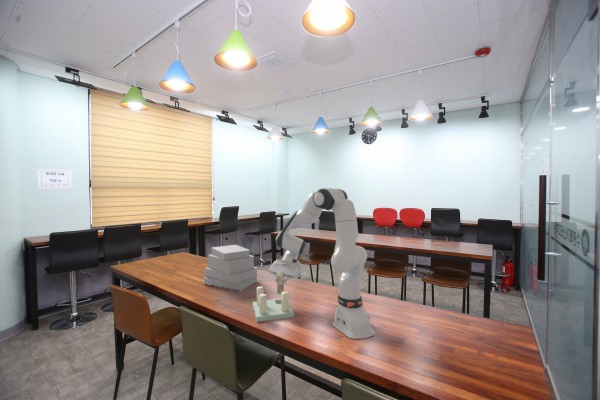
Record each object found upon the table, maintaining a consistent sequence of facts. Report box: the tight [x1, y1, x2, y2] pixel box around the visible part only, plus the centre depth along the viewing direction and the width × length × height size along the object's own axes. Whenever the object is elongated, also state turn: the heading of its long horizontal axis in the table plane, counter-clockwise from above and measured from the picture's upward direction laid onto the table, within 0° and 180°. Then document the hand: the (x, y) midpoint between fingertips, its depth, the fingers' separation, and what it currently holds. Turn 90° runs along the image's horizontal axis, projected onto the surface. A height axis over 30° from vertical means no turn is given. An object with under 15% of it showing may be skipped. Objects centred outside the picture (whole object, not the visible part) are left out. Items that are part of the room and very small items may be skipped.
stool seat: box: [252, 286, 295, 323], centre depth 150 cm, size 20×20×12 cm
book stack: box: [203, 244, 259, 292], centre depth 197 cm, size 30×35×26 cm
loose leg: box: [276, 272, 285, 295], centre depth 157 cm, size 4×4×12 cm
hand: (279, 282), depth 156 cm, fingers closed on loose leg, 4 cm apart
